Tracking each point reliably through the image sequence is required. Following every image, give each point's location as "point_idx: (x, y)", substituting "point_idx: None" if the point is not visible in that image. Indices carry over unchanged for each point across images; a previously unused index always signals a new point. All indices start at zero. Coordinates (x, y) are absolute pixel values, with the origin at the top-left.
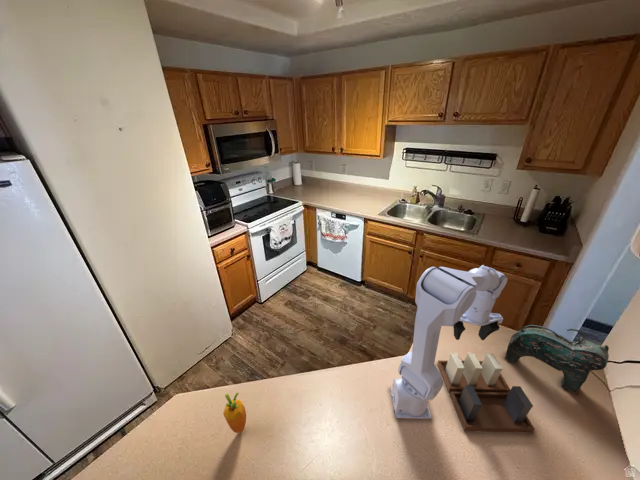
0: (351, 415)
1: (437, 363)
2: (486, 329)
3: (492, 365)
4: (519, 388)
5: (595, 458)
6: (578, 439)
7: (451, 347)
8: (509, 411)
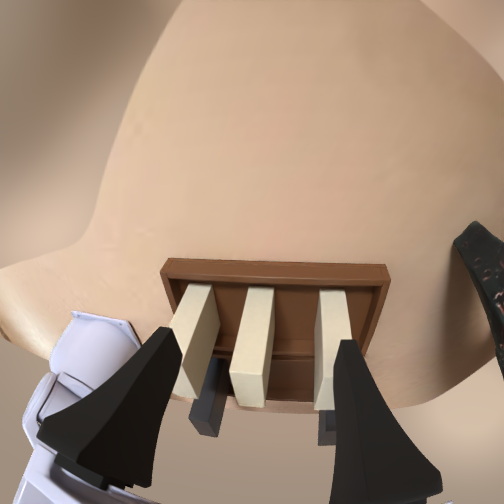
0: (47, 330)
1: (166, 261)
2: (339, 461)
3: (315, 396)
4: None
5: (409, 399)
6: (414, 387)
7: (250, 176)
8: None
